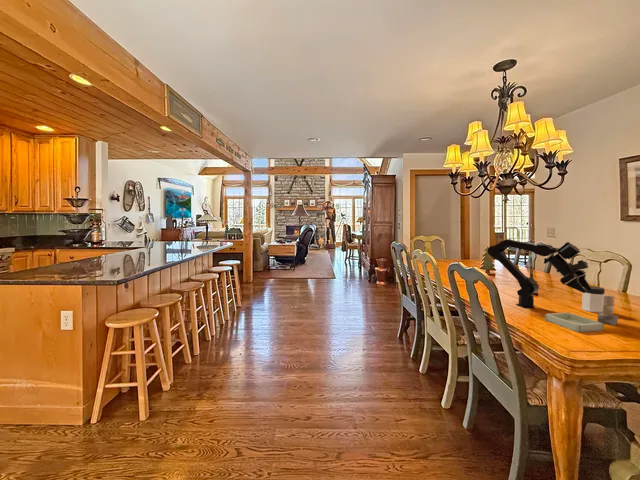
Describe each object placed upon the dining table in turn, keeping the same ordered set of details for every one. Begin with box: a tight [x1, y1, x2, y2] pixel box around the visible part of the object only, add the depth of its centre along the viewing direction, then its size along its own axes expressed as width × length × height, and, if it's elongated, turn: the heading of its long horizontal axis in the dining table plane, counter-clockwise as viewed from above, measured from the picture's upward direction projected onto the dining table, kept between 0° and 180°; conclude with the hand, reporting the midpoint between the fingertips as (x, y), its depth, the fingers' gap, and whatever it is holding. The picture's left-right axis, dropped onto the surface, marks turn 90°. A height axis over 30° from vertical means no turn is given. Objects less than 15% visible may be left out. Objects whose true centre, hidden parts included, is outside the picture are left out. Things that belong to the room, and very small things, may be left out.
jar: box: [581, 285, 606, 314], centre depth 164 cm, size 9×8×12 cm
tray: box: [544, 312, 605, 333], centre depth 142 cm, size 16×13×3 cm
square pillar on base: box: [597, 294, 619, 326], centre depth 145 cm, size 6×5×12 cm
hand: (587, 291), depth 150 cm, fingers open, 9 cm apart
